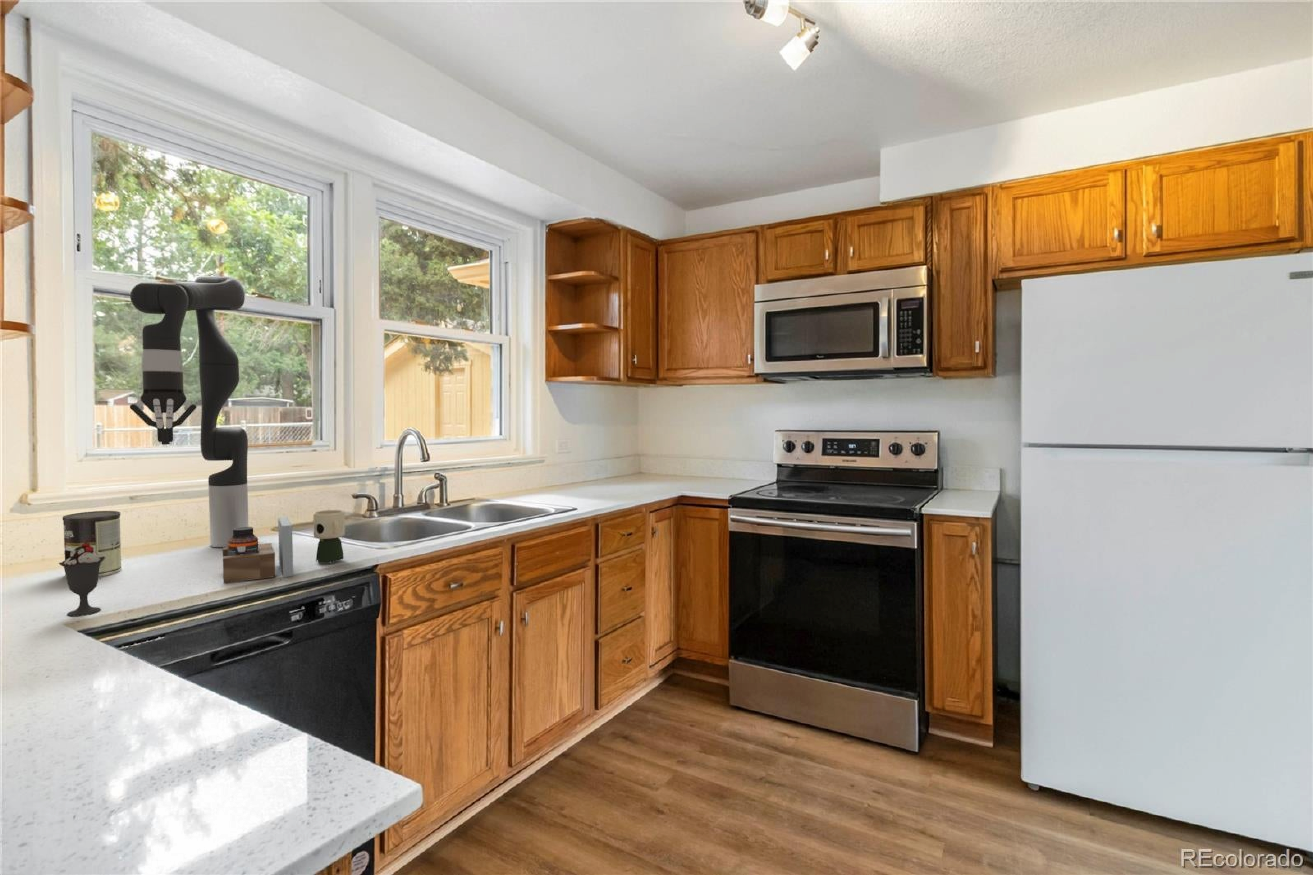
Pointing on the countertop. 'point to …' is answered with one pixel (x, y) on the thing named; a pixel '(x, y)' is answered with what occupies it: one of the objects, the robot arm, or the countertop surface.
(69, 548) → the coffee can
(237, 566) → the walnut u-shaped holder
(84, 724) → the countertop surface
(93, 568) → the sundae
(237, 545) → the supplement bottle
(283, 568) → the board
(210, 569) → the countertop surface
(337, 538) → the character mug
